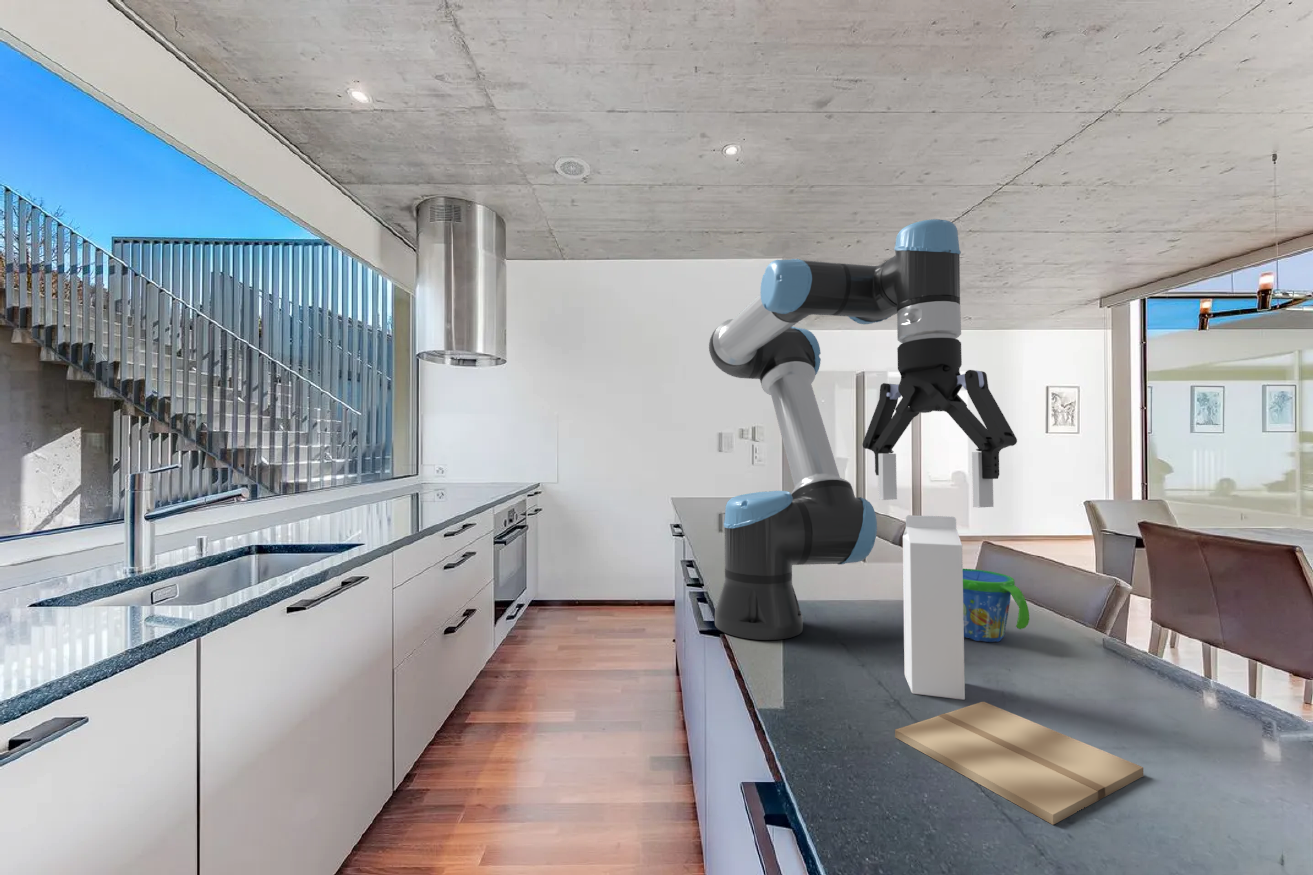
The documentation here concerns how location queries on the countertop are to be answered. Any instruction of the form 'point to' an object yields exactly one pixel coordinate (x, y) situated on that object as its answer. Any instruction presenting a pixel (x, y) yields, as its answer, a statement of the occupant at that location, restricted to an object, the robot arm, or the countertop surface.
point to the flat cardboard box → (1021, 759)
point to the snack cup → (990, 604)
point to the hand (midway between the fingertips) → (931, 503)
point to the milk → (933, 607)
